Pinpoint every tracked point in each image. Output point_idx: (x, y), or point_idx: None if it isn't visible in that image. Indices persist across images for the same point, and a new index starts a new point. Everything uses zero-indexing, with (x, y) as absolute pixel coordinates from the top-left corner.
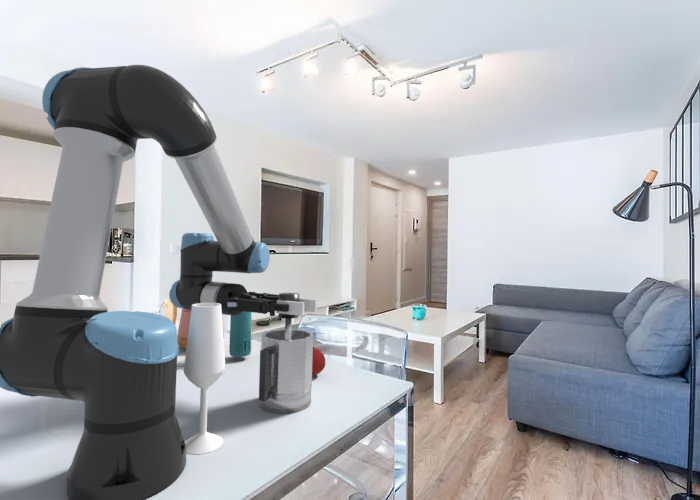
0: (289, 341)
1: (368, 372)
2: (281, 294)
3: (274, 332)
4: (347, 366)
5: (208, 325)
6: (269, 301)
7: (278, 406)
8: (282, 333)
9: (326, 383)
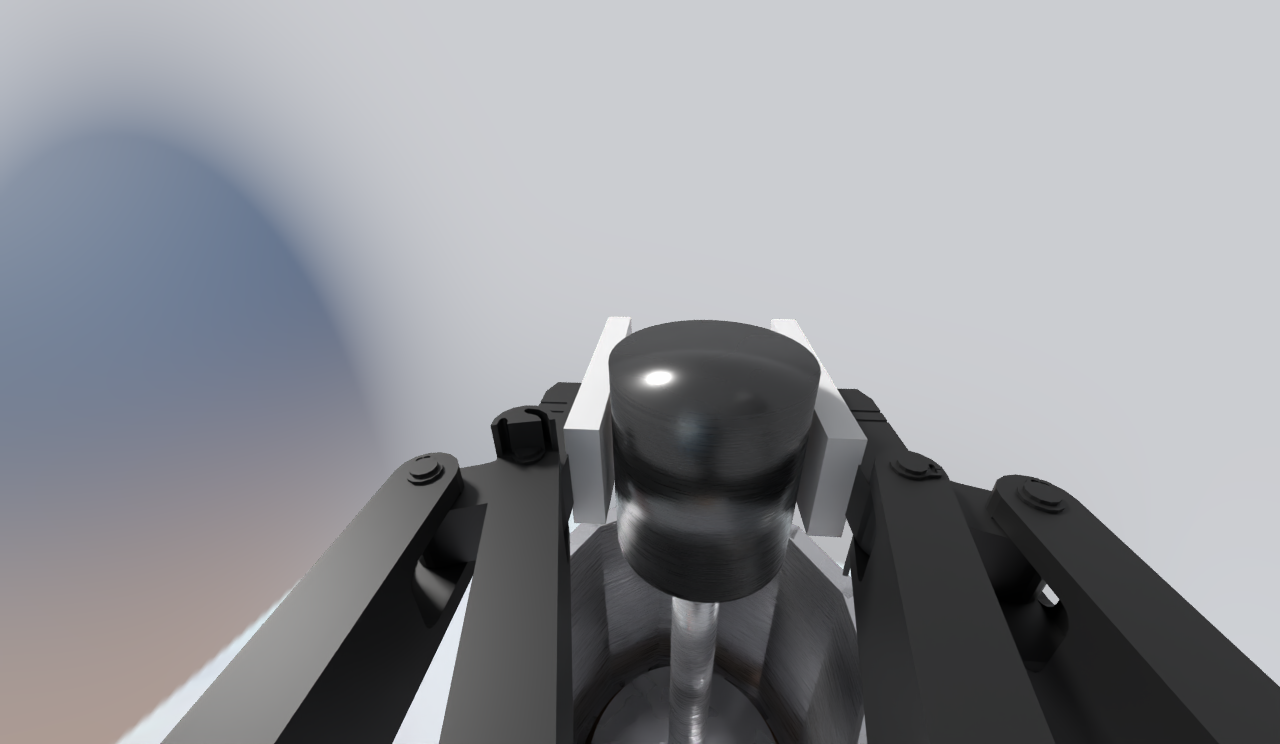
0: (814, 545)
1: (278, 605)
2: (804, 379)
3: None
4: (140, 726)
5: None
6: (949, 488)
7: None
8: None
9: (410, 732)
